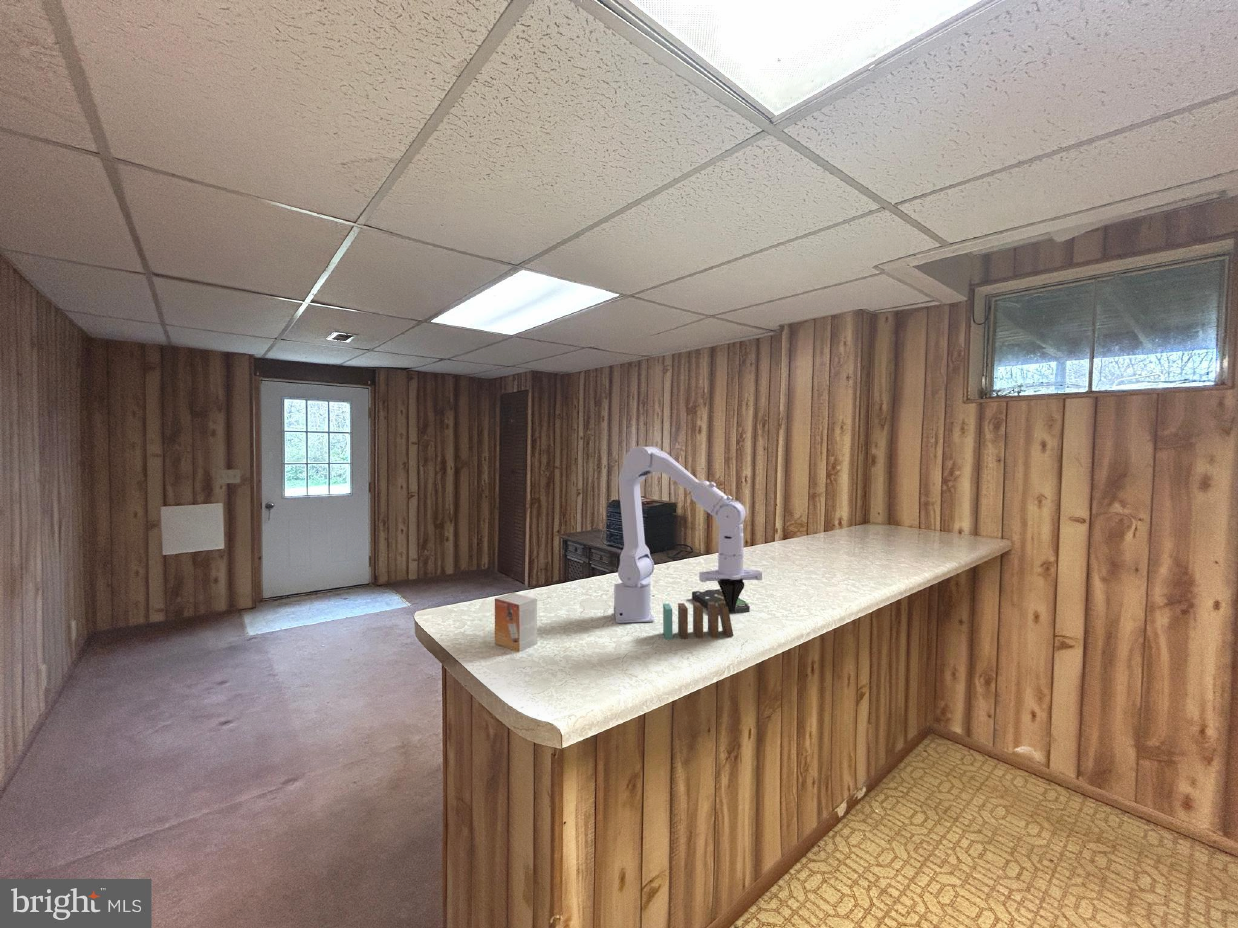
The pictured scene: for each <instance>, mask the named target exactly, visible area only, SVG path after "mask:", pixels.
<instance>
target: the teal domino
mask: <svg viewBox="0 0 1238 928" xmlns="http://www.w3.org/2000/svg"><path fill="white" fill-rule="evenodd" d="M662 615H663V616H662V622H663V623H662V629H663V631H662V632H663V635H664V638H665V640H668V641H669V640H673V608H672V606H671V605H670V603H663V604H662Z"/></svg>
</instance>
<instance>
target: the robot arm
mask: <svg viewBox="0 0 1238 928" xmlns="http://www.w3.org/2000/svg"><path fill="white" fill-rule="evenodd" d="M623 459H624V460H623V465H622V467H621V470H620V472H619V475H618V479H617V480H618V489H619V501H620V512H621V513H620V514H621V522H622V523H621V524H622V525H621V526H622V535H623V536H622V537H623V549H622V551H621V553H620V555H619V565H618V568H617V575H618V579H619V580H620V581H621V582H620V583H615V584H614V585H613V586H614V589H613V590H614V591H613V594H614V595H613V603H614V604H613V614H614V617H615V618H614V619H615V621H616V623H617V624H623V623H625V624H626V623H646V622H647V623H651V622H655V619H654V617H653V614H652V612H651V604H652V603H651V576H652V574H653V573H654V572H655V571H654V570H655V562H654V560H653V559H652V557H651V552H650V549H649V547H648V546H647V544H646V540H645V539H646V538H645V529H644V528H645V527H644V517H643V507H642V506H643V505H642V504H643V503H642V496H641V486H640V485H641V483H642V482H643V481H644V480H645V479H646V477H648V475H650V474H652V473H657V474H659V473H660V474H665V475H666V476H668V477H670V478H671V479H672V480H673V481H675V482H676V483H677V484H679V485H680V486H682V487H683V488H685V489H686V490H688V491H689V492H690V497H691V500H692V501H694V502H695V503H696V504H697V505H698V506H699V507H701V508H702V509H703V510H704V511H706V512H707V513H708V514H710V515H711V516H713V517H714V519H715V522H716V523H717V525H718V533H717V534H718V535H717V536H718V539H717V540H718V542H717V543H718V546H717V547H718V551H717V554H718V556H717V558H718V559H717V561H718V563H717V566H718V569H715V570H709V571H708V570H707V571H699V574H698V575H699V577H698V578H699V581H700V583H706V582H717V585H718V586H719V589H721V591H722V594H723V596H724V600H725V604H726V605H727V606H728V610H729V612H735V607H736V603H737V600H738V598H740V595H741V593H742V592H743V590H744V588H745V582H744V581H751V580H752V581H755V580H756V581H763V572H762V571H761V570H760V569H755V570H754V569H753V570H752V569H744V521H745V519H746V516H747V511H746V508H745V506H744V505H743V504H742V503H741V501H739V500H734V499H733V497H732V496H730V495H726V494H725V493H724V492H722V491H721V490H720V489H718V488H717V487H716V486H717V484H716V483H715V482H714V481H710V482H709V481H707V480H702V481H701V480H698V479H697V478H696V477H695V476H694V475H692V474H691V472H689V471H688V470H686V468H684V467H683V466H682V465H680V463H678V462H677V461H676V460H675V459H674V458H673V457H671V456H670V455H669V454H668V453H667V452H665V451H662V450H661V448H659V447H657V446H655V445H654V446H653V445H650V446H649V445H648V446H634V447H632V448H631V449H630V450H629V451H627V453H626V454H625V455H624V456H623ZM732 499H733V500H732Z"/></svg>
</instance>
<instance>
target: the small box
mask: <svg viewBox="0 0 1238 928" xmlns="http://www.w3.org/2000/svg"><path fill="white" fill-rule="evenodd" d="M494 644H496V645H499V646H501V645H502V646H501V647H503V648H507V649H509V650H512V651H515V652H517V653H520V652H523V651H524V650H527V649H529V648H531V647H534V646H536V645H537V644H538V598H536V597H531V596H526V595H523V594H519V593H515V592H510V593H507V594H504V595H501V596H497V597H495V598H494ZM535 644H536V645H535Z"/></svg>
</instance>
